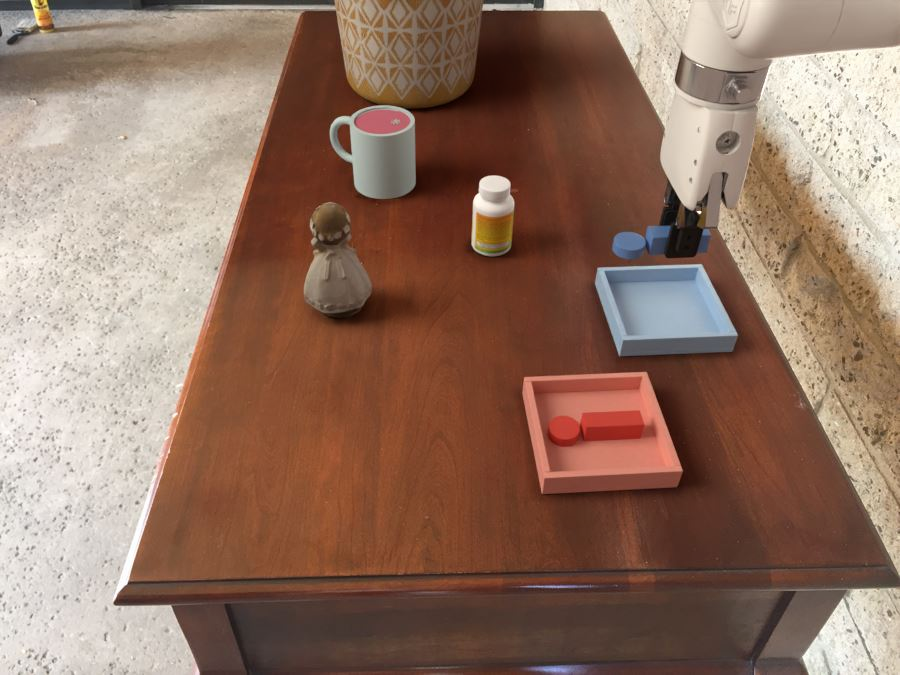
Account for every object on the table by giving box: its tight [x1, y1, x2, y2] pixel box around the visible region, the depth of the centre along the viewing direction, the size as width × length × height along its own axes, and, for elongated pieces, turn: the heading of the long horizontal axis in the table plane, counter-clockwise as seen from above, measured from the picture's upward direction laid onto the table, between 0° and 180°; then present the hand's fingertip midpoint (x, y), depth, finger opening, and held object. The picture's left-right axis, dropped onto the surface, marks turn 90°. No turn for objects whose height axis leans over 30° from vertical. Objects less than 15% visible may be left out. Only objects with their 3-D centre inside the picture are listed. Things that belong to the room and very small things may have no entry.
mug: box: [329, 104, 417, 200], centre depth 114 cm, size 14×9×10 cm
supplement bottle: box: [471, 174, 515, 257], centre depth 102 cm, size 5×5×10 cm
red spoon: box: [548, 410, 645, 447], centre depth 79 cm, size 3×10×2 cm, turn 94°
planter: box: [333, 0, 484, 110], centre depth 133 cm, size 26×26×22 cm
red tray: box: [522, 371, 684, 495], centre depth 80 cm, size 13×13×3 cm
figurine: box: [303, 201, 373, 320], centre depth 90 cm, size 8×7×15 cm
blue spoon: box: [611, 225, 712, 261], centre depth 79 cm, size 3×10×2 cm, turn 95°
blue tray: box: [594, 263, 739, 357], centre depth 94 cm, size 13×13×3 cm
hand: (675, 247), depth 79 cm, fingers closed on blue spoon, 2 cm apart
